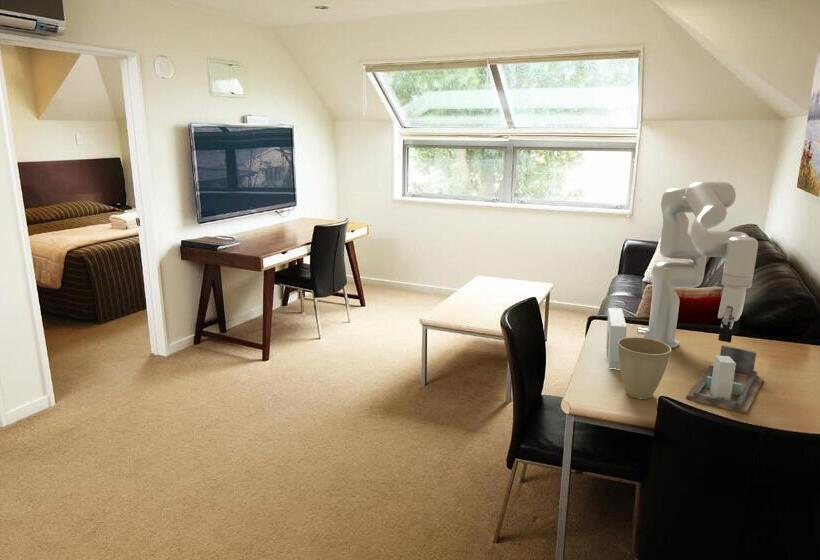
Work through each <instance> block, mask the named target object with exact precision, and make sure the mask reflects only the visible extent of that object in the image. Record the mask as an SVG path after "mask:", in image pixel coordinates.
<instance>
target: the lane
mask: <svg viewBox="0 0 820 560" xmlns="http://www.w3.org/2000/svg"><path fill="white" fill-rule="evenodd" d="M719 354H720V355H719V356H730V357H731V359H732V360H733V361H734V362H735V363H736V367H735V374H734V380H733V382H736V383H740V384H742V388H741V395H740V396H738V395H734V394H731V400H730V401H729V400H725V399H721V398H717V397H713V395H712V394H711V392H710V388H706V381H707V376H710V377H712V374H713V367H714V364H713V365H708V366H707V367H706V368H705V371H704V372H703V373H702V374H701V375H700V377H699V378H698V379H697V381H696V382H695V383H694V385H693V386H692V388H690V390H689V391H688V392H687V394H686V399H688V400H691V401H695V402H699V403H703V404H707V405H710V406H714V407H716V408H717V407H719V408H722V409H725V410H729V411H733V412H738V413H742V414H744V415H747V414H748V412H749V410H750V407H751V405H752V404H753V401H754V400H755V397H756V395H757V393H758V391H759V390H760V387H761V385H762V383H763V382H764V377H763V376H759V375H758V372H759V371H757V370H755V363H756V358H757V351H752V350H750V349H749V350H748V349H744V348H738V347H733V346H728V345H725V344H722V345H721V349H720V353H719Z"/></svg>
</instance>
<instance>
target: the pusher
mask: <svg viewBox="0 0 820 560" xmlns="http://www.w3.org/2000/svg"><path fill="white" fill-rule="evenodd" d="M711 381H712V377H710V376H707V381H706V388H710V387H711ZM741 388H742V384H740V383H736V382H733V387H732V393H731V394H734V395H738V396H740V395H741Z"/></svg>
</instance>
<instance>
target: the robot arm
mask: <svg viewBox="0 0 820 560" xmlns="http://www.w3.org/2000/svg"><path fill="white" fill-rule="evenodd" d="M735 201H736V190H735V188H734V186H733V185H732V184H731V183H729V182H727V181H698V182H694V183H691V184H690V185H688V187H676V188H675V187H674V188H669V189H667V190H665V191H664V193H663V194H662V196H661V202H660V207H661V208H660V209H661V214H662V219H663V220H662V228H661V234H660V243H659V253H660V255H661V256H662V257H663V258H665V259H673V260H688V261H660V262H657V263H656V264H654V266H653V267H652V270H651V279H652V280H651V281H652V290H651V291H652V293H651V304H650V314H649V319H648V320H649V322H648V328H643V327H640V326H639V327H637V328H636V332H637V334H638V335H644V336H643V337H642V338H648V339H653V340H657V341H660V342H663V343H665V344H667V345H669V346H670V347H671V349H673V348H677V347H679V345H680V341H679V340H678V339H676V333H677V323H678V318H679V307H680V297H679V295H678V293H676V291H675V288H676V289H677V288H686V289H687V288H691V289H692V288H698V287H700V286H701V284H702V283H703V280H704V277H705V270H706V264H707V259H708V257H709V258H724V261H723V262H724V263H723V271H722V277H721V285H722V286H723V290H722V293H721V299H720V304H719V309H718V314H717V318H718V319H719V320H721V319H722V321H721V324H720V327H719V333H718V341H720V342H725V343H729V344H731V342H732V338H733V333H734V334H738V333H739V332H738V331H739V327H740V321H741V320H740V317H741V316H742V313H743V310H744V305H745V301H746V294H747V289H751V288H752V285H753V279H754V272H755V267H756V260H757V254H758V249H759V242H758V240H757V239H756V238H754V237H752V236H750V235H748V234H747V233H745V232H742V231H726V230H725V231H718V230H717V231H716V230H715V231H712V230H711V231H709V230H710V229H711V228H714V227H717V226H719V225H720V224H722V223H723V222H724V220H725V219H726V218H727V214H728V211H727V209H728V208H731V207H732V206H733V204H734V203H735ZM686 213H688V214H691V213H692V214H694V216H695V218H694V220H693V222H692V224H691V226H690V227H691V228H690V232H689V231H688V230H689V224H690V220H689V217H688V216H687V214H686Z"/></svg>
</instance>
